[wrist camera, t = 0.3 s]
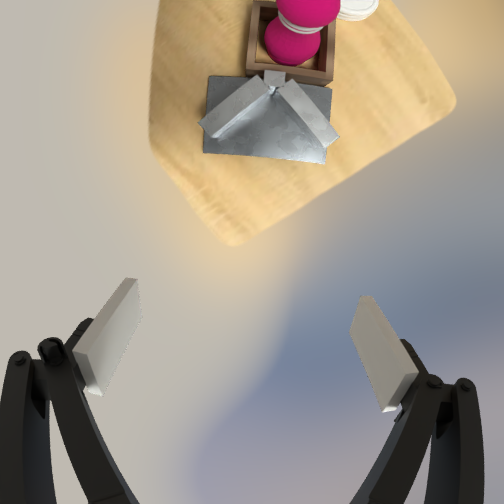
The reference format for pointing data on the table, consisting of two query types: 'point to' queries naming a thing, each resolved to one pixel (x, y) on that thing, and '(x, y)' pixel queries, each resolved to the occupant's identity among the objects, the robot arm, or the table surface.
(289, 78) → the wooden square frame
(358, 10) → the coaster
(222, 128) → the v block
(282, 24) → the pepper mill
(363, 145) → the table surface
